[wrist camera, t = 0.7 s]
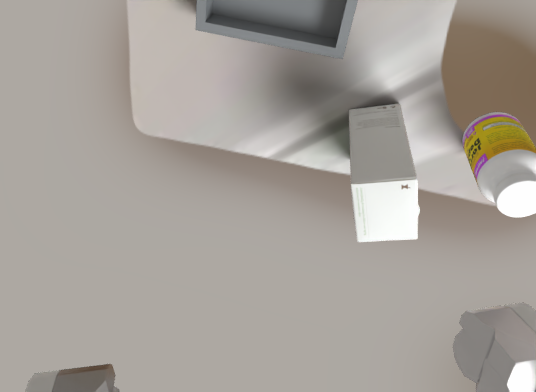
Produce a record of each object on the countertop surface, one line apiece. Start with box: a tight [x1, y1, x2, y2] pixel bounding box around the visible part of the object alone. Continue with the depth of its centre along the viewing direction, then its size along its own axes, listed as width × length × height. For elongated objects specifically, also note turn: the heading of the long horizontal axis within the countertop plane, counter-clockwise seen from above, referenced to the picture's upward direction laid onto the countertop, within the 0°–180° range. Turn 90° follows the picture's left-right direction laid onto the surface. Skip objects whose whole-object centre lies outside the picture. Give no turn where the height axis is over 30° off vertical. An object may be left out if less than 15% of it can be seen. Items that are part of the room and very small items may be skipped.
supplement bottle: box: [462, 112, 536, 217], centre depth 48 cm, size 7×7×13 cm
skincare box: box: [349, 104, 420, 242], centre depth 49 cm, size 8×7×16 cm
